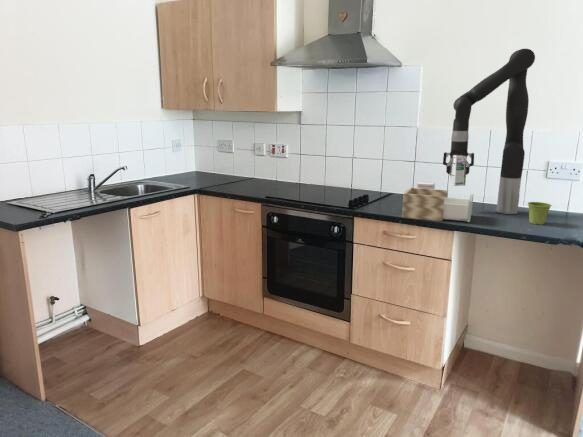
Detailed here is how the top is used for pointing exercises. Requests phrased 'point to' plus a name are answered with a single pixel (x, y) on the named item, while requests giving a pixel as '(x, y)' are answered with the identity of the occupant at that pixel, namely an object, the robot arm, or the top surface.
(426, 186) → the ink box
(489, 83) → the robot arm
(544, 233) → the top surface
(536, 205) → the plant pot
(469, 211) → the drawer
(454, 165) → the syrup box
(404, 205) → the caddy
